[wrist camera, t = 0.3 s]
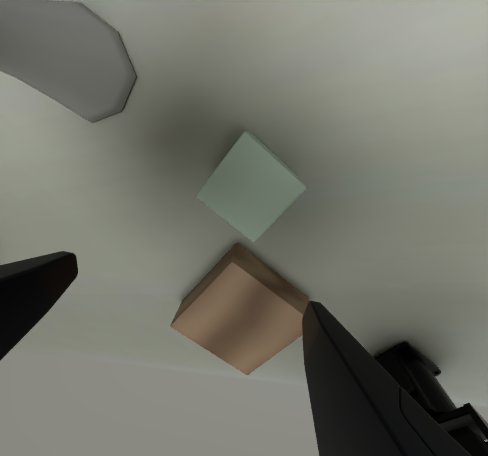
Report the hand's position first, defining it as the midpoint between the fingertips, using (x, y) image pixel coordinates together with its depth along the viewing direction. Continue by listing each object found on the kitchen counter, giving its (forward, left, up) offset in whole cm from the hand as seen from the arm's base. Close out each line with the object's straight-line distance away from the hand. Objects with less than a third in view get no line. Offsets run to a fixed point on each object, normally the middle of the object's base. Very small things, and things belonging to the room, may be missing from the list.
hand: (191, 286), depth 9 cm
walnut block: (-8, +8, -13) cm, 18 cm away
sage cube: (0, -3, -13) cm, 13 cm away
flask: (+15, -1, -13) cm, 20 cm away
